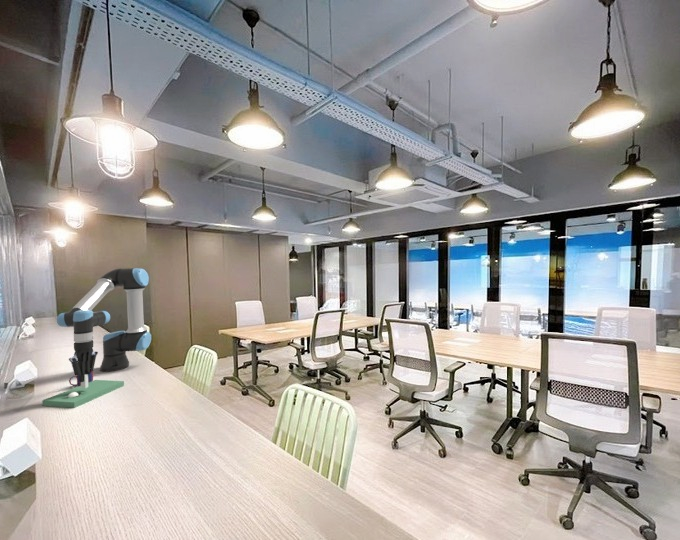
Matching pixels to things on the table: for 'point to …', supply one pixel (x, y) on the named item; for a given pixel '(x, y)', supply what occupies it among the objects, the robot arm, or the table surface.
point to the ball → (73, 394)
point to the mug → (79, 381)
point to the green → (83, 394)
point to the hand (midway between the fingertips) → (84, 387)
